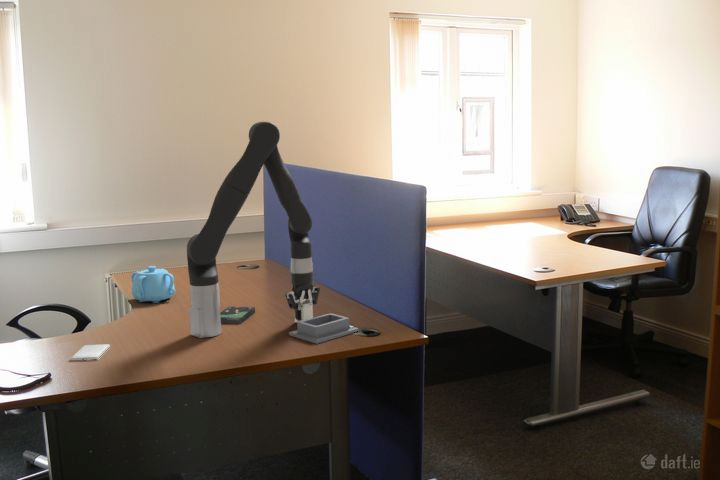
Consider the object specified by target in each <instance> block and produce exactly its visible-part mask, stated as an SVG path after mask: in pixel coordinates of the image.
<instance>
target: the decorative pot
mask: <svg viewBox="0 0 720 480" xmlns="http://www.w3.org/2000/svg"><path fill="white" fill-rule="evenodd" d="M131 282H132V286H131V295H132V297H133V298H134V299H135V300H137V301H138V302H139V303H145V302H152V303H153V304H159V303H161V301H164V300H168V299H170V298H171V297H173V295H175V294H176V292H177V291H176V288H175V277H174V275H173V274H172V273H170V272H169V271H168V270H167V269H165V268H157V266H155V265H150V266H149V265H148V266H147V269H143V270H141V271H138V270H137V271H134V272H132V274H131Z"/></svg>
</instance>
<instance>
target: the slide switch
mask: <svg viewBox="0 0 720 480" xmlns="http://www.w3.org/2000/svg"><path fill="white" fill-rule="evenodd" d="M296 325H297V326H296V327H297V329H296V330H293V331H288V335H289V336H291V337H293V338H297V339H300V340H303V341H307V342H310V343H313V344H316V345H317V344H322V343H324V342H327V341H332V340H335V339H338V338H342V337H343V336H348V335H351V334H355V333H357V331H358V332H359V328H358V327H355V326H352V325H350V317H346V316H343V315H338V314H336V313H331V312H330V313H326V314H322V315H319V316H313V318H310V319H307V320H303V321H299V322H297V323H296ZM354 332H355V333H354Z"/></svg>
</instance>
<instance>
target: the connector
mask: <svg viewBox="0 0 720 480" xmlns="http://www.w3.org/2000/svg"><path fill="white" fill-rule="evenodd" d="M297 306H298V303H297ZM313 306H314V305H313ZM313 306H312V302H308V301H304V300H303V303H302V304H301V309H300V310H301V320H300V321H303V320H307V319H310V318H314V312H313V311H314V309H313ZM293 310H294V309H293ZM294 312H295V310H294ZM297 322H299V321H298V320H296V319H295V318H294V323H296V324H297Z"/></svg>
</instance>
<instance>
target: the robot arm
mask: <svg viewBox="0 0 720 480" xmlns="http://www.w3.org/2000/svg"><path fill="white" fill-rule="evenodd" d="M280 135H281V133H280V130H279V128H278V127H277V125H276V124H274V123H273V122H270V121H258V122H255V123H254V124H252V125H251V127H250V128H249V131H248V140H249V141H248V144H247V146H246V148H245V149H244V152H243V154H242V155H241V157H240V158H239V160H238V161H237V162H236V164H235V165H234V166H233V167H232V168H231V170H230V171H229V172H228V174H227V175H226V176H225V178H224V179H223V181H222V183H221V184H220V187H219V189H218V190H217V192H216V195H215V197H214V200H213V202H212V205H211V208H210V212H209V215H208V218H207V220H206V222H205V223H204V224H203V225H204V226H203V227H202V228H201V230H200V232H199V233H197V234H194V235H193V236H192V237H191V238H189V240H188V242H187V243H186V244H187V245H186V259H187V271H188V273H187V274H188V278H189V290H190V292H189V293H190V304H191V305H190V306H189V307H188V313H189V329H190V335H191V336H193V337H197V338H199V339H203V338H211V337H216V336H220V335H221V334H222V332H223V331H222V323H221V315H220V312H221V305H220V304H221V303H220V301H221V300H220V286H219V285H220V284H219V272H218V267H217V259H216V258H217V256H218V254H219V251H220V249H221V247H222V243H223V241H224V239H225V236H226V234H227V232H228V230H229V228H230V227H231V226H232V224H233V223H234V221H235V220H236V218H237V216H238V214H240V213H239V212H240V211H241V210H242V208H243V206H244V204H245V202H246V200H247V198H248V197H249V196H250V194H251V191H252V189H253V187H254V184H255V183H256V180H257V179H258V178H259V177H258V176H259V175H260V172H261V170H262V168H263V166H264V167H265V169H266V172H267V174H268V175H269V179H270V181H271V183H272V185H273V188H274V191H275V193H276V196H277V198H278V200H279V202H280V205H281V207H282V208H283V209H284V210H285V213H286V214H287V218H288V220H287V229H288V234H289V235H288V236H289V240H290V241H289V242H290V281H291V282H290V283H291V285H292V288H291V291H290V292H286V293H285V294H284V295H285V298H286V301H287V304H288V307H289V309H290V310H291V309H292V310H295V311H294V320H295V319H296V320H298V321H300V320H301V310H300V309H301V304H302V303H303V300H304V301H308V302H312V306H315V305H317V303H318V299H319V294H320V289H321V288H320V287H318V286H313V283H314V264H313V257H312V256H313V255H312V254H313V253H312V244H311V241H310V238H309V232H310V231H311V230H312V227H313V219H312V218H311V217H312V216H311V215H310V213H309V211H308V209H307V207H306V205H305V204H304V201H302V200H303V199H302V198H301V194H300V193H299V189H298V188H297V185H296V183H295V180H294V178H293V177H292V175H291V173H290V171H289V169H288V168H287V166H286V165H285V162H284V160H283V159H282V156H281V153H280V151H279V148H278V144H279V142H280ZM297 303H298V306H297Z"/></svg>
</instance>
